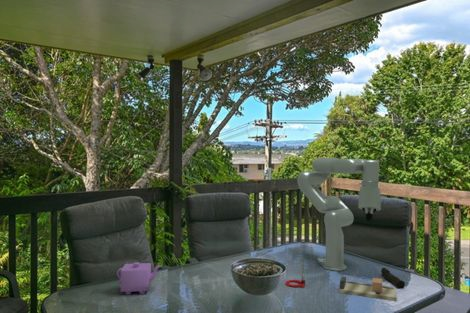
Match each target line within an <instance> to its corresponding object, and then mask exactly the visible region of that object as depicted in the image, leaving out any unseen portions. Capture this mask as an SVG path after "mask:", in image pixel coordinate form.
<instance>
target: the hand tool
mask: <svg viewBox="0 0 470 313" xmlns="http://www.w3.org/2000/svg"><path fill="white" fill-rule="evenodd" d="M380 272H381V276H382V277H383V279H385V280H388V281H389V282H390V283H391V284H393V285H394V286H396V287H395V288H396V289H401V290H402V289H405V285H406V282H405V281H404V280H402V279H400V278H399V277H398V276H395V275H394V274H393V273H391V271H390V270H389V269H388V268H385V267H381V270H380Z"/></svg>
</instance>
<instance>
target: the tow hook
mask: <svg viewBox="0 0 470 313" xmlns="http://www.w3.org/2000/svg"><path fill="white" fill-rule="evenodd" d="M300 276H301V277H300V278H301V280H299V279H289V280H286V281H285V286H286V287H289V288H300V287H301V288H302V289H303V288H305V286H306V279H305V278H306V277H305V276H306V275H305V263H304V258H303V257H302V258H301V274H300ZM292 283H297V284H292Z"/></svg>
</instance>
